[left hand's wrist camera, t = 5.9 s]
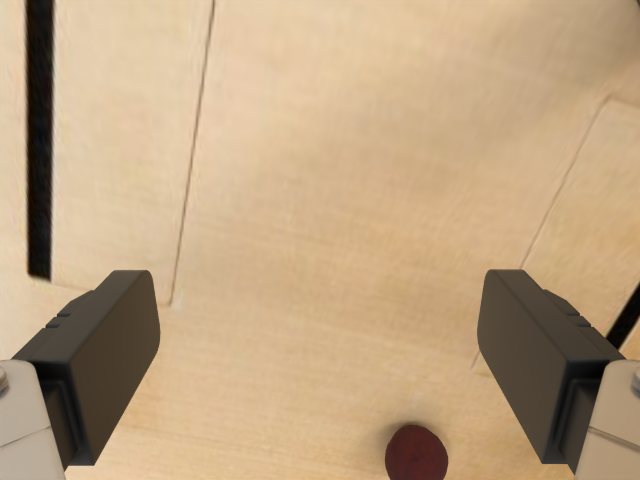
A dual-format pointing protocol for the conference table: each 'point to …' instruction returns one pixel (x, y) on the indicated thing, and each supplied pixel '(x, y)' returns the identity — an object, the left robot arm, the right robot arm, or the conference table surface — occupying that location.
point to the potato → (416, 455)
